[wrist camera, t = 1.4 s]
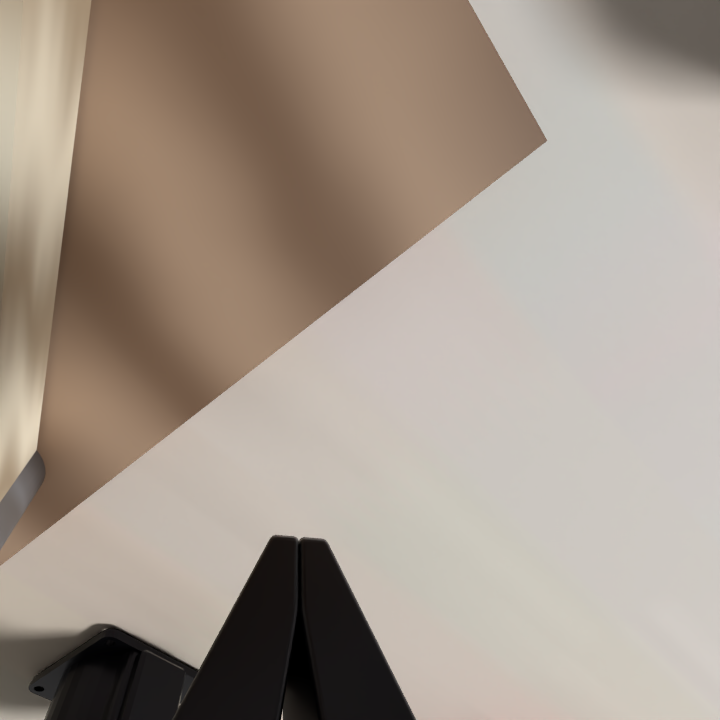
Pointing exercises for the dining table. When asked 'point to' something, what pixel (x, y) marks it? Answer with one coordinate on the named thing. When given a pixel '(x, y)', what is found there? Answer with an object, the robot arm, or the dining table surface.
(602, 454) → the dining table surface
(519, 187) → the dining table surface
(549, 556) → the dining table surface
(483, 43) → the stool seat
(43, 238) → the hinged leg
